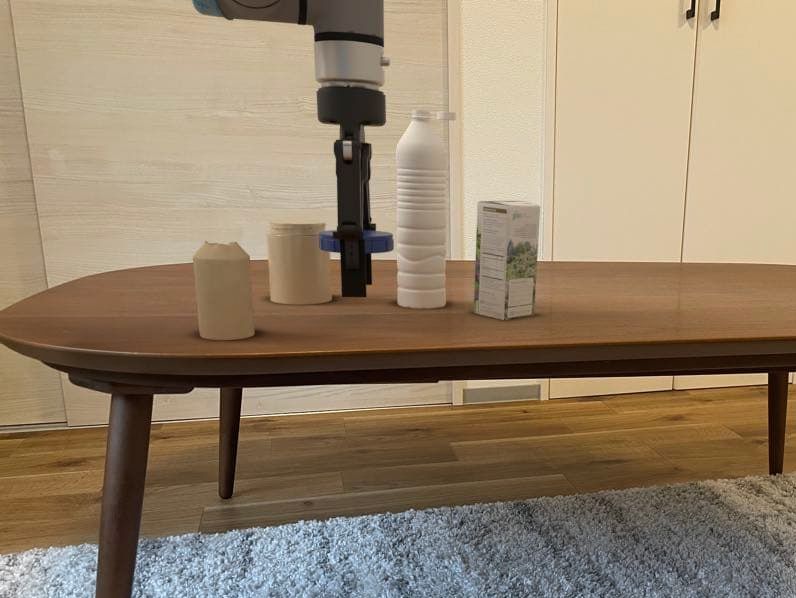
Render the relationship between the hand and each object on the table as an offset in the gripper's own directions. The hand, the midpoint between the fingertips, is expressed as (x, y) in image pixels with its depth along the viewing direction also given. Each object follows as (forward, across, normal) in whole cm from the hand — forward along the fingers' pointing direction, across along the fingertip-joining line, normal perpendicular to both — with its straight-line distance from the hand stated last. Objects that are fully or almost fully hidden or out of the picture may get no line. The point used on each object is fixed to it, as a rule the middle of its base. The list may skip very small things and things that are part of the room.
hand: (357, 290), depth 93 cm
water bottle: (+4, +11, -8) cm, 15 cm away
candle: (+4, -10, +13) cm, 17 cm away
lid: (-6, 0, 0) cm, 6 cm away
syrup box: (+4, +4, -18) cm, 19 cm away
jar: (+4, +13, +9) cm, 16 cm away
